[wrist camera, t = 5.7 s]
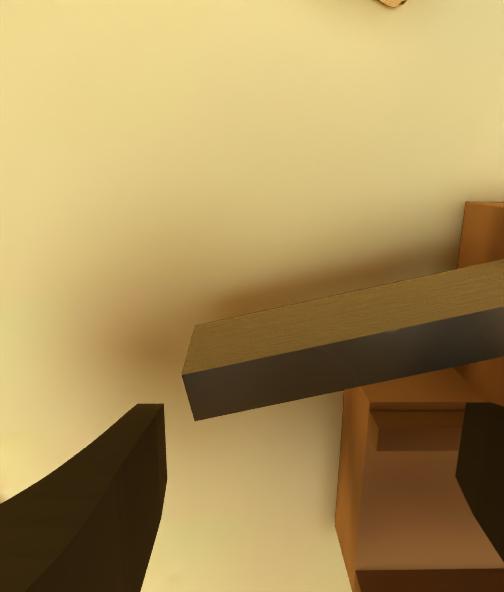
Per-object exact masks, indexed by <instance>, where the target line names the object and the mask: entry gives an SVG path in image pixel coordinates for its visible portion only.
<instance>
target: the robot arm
mask: <svg viewBox="0 0 504 592" xmlns="http://www.w3.org/2000/svg"><path fill="white" fill-rule="evenodd" d="M455 477H456V479H457V482H458V484H459V486H460V488H461V490H462V493H463V495H464V497H465V499H466V501H467V503H468V505H469V507H470V509H471V511H472V513H473V515H474V517H475V519H476V520H477V522H478V523H479V525H480V527H481V528H482V530H483V531H484V533H485V534H486V536H487V537H488V539H489V541H490V542H491V544H492V545H493V547H494V548H495V550H496V551H497V553H498V554H499V556H500V558H501V559H502V561H503V562H504V407H503V406H501V405H498V404H495V403H492V402H466V406H465V413H464V420H463V427H462V433H461V440H460V447H459V454H458V460H457V467H456V474H455ZM166 483H167V464H166V442H165V420H164V404H137V405H136V406H134V407H133V408H132V409H131V410H130V411H128V412H127V413H126V414H125V415H124V416H123V417H121V418H120V419H119V420H118V421H117V422H116V423H115V424H113V425H112V426H111V427H110V428H109V429H108V430H106V431H105V432H104V433H103V434H102V435H100V436H99V437H98V438H97V439H96V440H94V441H93V442H92V443H91V444H89V445H88V446H87V447H86V448H84V449H83V450H82V451H80V452H79V453H78V454H76V455H75V456H74V457H72V458H71V459H70V460H68V461H67V462H65V463H64V464H63V465H61V466H60V467H59V468H57V469H56V470H55V471H53V472H52V473H50V474H49V475H47V476H46V477H44V478H43V479H41V480H40V481H38V482H37V483H35V484H33V485H32V486H30V487H28V488H27V489H25V490H23V491H22V492H20V493H19V494H17V495H15V496H14V497H12V498H10V499H8V500H7V501H5V502H3V503H1V504H0V592H140V591H141V587H142V584H143V580H144V577H145V573H146V570H147V567H148V563H149V560H150V556H151V553H152V549H153V545H154V542H155V538H156V535H157V531H158V528H159V524H160V520H161V515H162V509H163V503H164V497H165V490H166Z"/></svg>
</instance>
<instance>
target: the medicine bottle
mask: <svg viewBox="0 0 504 592" xmlns="http://www.w3.org/2000/svg"><path fill="white" fill-rule="evenodd" d="M379 1H381V2H383V3H385V4H387V5H388V6H392V7H397V6H400V5H402V4H404V3H405V2H406V1H407V0H379Z"/></svg>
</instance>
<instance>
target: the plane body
mask: <svg viewBox="0 0 504 592" xmlns="http://www.w3.org/2000/svg"><path fill="white" fill-rule="evenodd" d="M501 259H504V202H466V205H465V213H464V220H463V228H462V235H461V243H460V251H459V258H458V266H457V269H460V268H464V267H469V266H474V265H478V264H483V263H487V262H492V261H497V260H501ZM466 402H492V403H495V404H498V405H501V406H503V407H504V357H499V358H494V359H490V360H485V361H480V362H475V363H470V364H466V365H461V366H456V367H451V368H447V369H442V370H437V371H432V372H427V373H423V374H418V375H413V376H408V377H404V378H399V379H394V380H389V381H384V382H380V383H375V384H370V385H365V386H360V387H356V388H351V389H346V390H344V404H343V418H342V433H341V447H340V461H339V476H338V490H337V504H336V518H335V528H336V532H337V536H338V539H339V543H340V547H341V551H342V554H343V558H344V562H345V566H346V569H347V573H348V577H349V581H350V584H351V588H352V592H504V562H503V561H502V559H501V558H500V556H499V554H498V553H497V551H496V550H495V548H494V547H493V545H492V544H491V542H490V541H489V539H488V537H487V536H486V534H485V533H484V531H483V530H482V528H481V527H480V525H479V523H478V522H477V520H476V519H475V517H474V515H473V513H472V511H471V509H470V507H469V505H468V503H467V501H466V499H465V497H464V495H463V493H462V490H461V488H460V486H459V484H458V482H457V479H456V477H455V474H456V467H457V460H458V454H459V447H460V440H461V433H462V427H463V420H464V413H465V406H466Z"/></svg>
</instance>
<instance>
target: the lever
mask: <svg viewBox="0 0 504 592" xmlns="http://www.w3.org/2000/svg"><path fill="white" fill-rule="evenodd" d="M499 357H504V259H501V260H497V261H492V262H487V263H483V264H478V265H474V266H469V267H464V268H460V269H455V270H450V271H446V272H441V273H437V274H432V275H427V276H423V277H418V278H413V279H409V280H404V281H399V282H395V283H390V284H386V285H381V286H376V287H372V288H367V289H362V290H358V291H353V292H349V293H344V294H339V295H335V296H330V297H325V298H321V299H316V300H311V301H307V302H302V303H298V304H293V305H288V306H284V307H279V308H274V309H270V310H265V311H261V312H256V313H251V314H247V315H242V316H237V317H233V318H228V319H223V320H219V321H214V322H210V323H205V324H200V325H196V326H195V328H194V331H193V335H192V339H191V342H190V346H189V350H188V354H187V357H186V361H185V365H184V368H183V372H182V378H183V382H184V385H185V389H186V392H187V396H188V399H189V403H190V406H191V410H192V413H193V417H194V420H195V421H198V420H203V419H208V418H212V417H217V416H222V415H227V414H231V413H236V412H241V411H246V410H251V409H255V408H260V407H265V406H270V405H274V404H279V403H284V402H289V401H294V400H298V399H303V398H308V397H313V396H317V395H322V394H327V393H332V392H337V391H341V390H346V389H351V388H356V387H360V386H365V385H370V384H375V383H380V382H384V381H389V380H394V379H399V378H404V377H408V376H413V375H418V374H423V373H427V372H432V371H437V370H442V369H447V368H451V367H456V366H461V365H466V364H470V363H475V362H480V361H485V360H490V359H494V358H499Z"/></svg>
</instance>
